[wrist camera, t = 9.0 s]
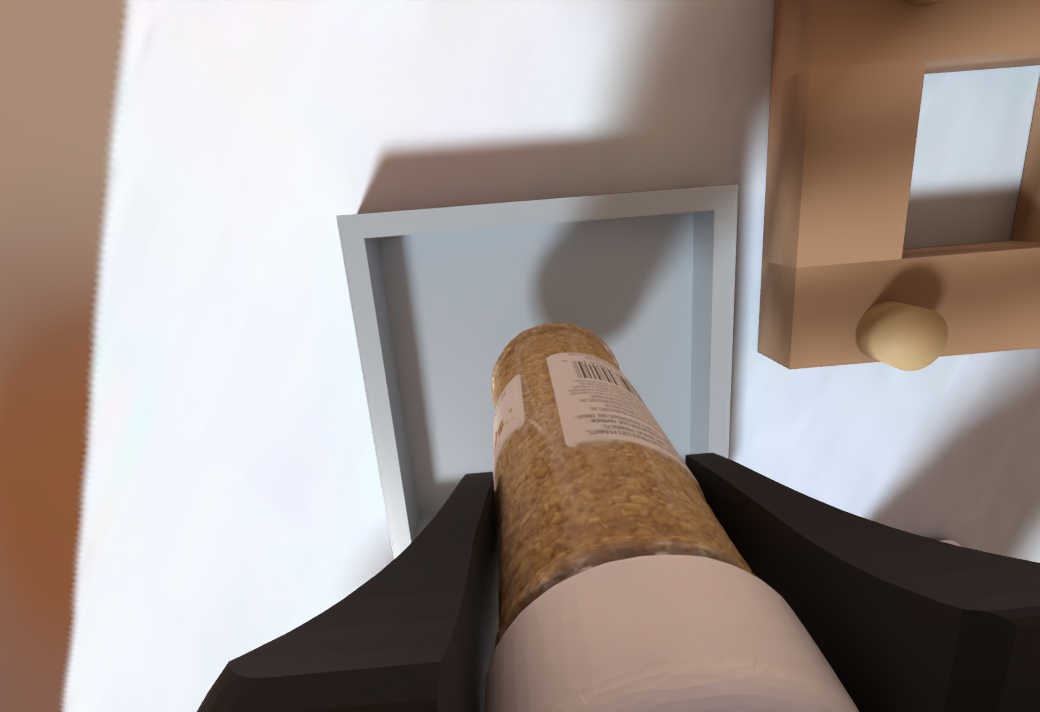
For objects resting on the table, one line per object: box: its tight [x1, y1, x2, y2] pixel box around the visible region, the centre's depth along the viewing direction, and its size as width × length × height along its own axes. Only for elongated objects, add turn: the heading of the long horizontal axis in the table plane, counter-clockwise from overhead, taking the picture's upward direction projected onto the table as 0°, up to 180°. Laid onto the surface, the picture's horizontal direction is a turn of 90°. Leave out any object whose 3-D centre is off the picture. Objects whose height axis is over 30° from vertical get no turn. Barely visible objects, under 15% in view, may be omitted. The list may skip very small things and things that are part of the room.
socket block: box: [758, 0, 1040, 371], centre depth 18 cm, size 14×14×4 cm
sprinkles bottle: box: [484, 323, 859, 712], centre depth 12 cm, size 5×5×14 cm
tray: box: [336, 184, 738, 559], centre depth 21 cm, size 14×14×2 cm
